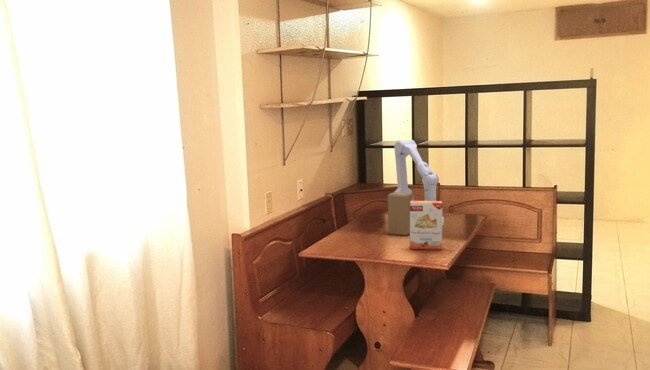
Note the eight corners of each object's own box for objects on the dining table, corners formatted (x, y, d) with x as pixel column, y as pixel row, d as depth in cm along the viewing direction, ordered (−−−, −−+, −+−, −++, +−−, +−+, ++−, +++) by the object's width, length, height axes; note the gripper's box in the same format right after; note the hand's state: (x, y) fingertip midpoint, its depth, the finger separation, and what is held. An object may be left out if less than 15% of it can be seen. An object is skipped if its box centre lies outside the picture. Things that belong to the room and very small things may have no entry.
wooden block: (413, 231, 294) (413, 192, 291) (407, 236, 285) (407, 195, 282) (394, 230, 298) (393, 191, 295) (387, 234, 289) (387, 194, 286)
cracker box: (409, 249, 259) (409, 202, 256) (409, 246, 265) (409, 200, 262) (442, 250, 257) (442, 202, 254) (441, 246, 263) (442, 200, 260)
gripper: (435, 200, 288) (435, 227, 290) (441, 195, 302) (440, 222, 304) (421, 199, 291) (421, 227, 293) (427, 195, 304) (427, 221, 306)
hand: (430, 224), depth 298 cm, fingers closed
